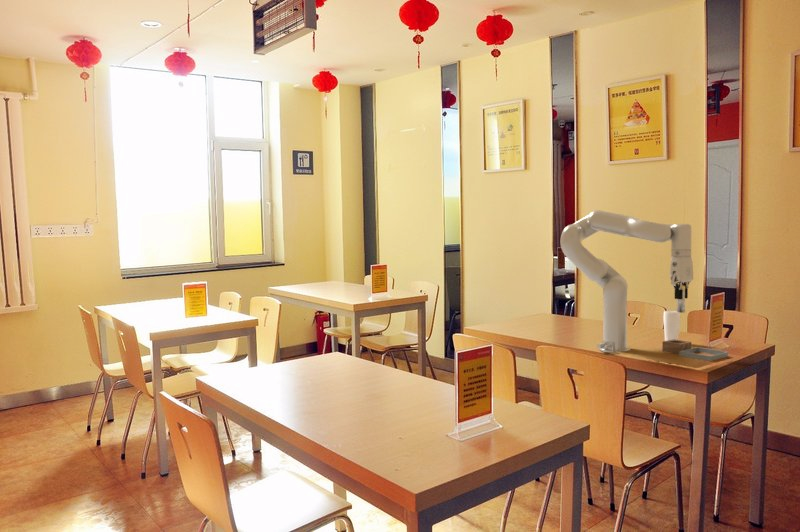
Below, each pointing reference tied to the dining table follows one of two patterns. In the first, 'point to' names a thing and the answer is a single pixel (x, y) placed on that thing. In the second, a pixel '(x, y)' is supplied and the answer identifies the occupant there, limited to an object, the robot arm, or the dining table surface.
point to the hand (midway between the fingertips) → (681, 298)
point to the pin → (681, 302)
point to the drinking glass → (671, 325)
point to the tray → (691, 351)
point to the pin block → (675, 346)
